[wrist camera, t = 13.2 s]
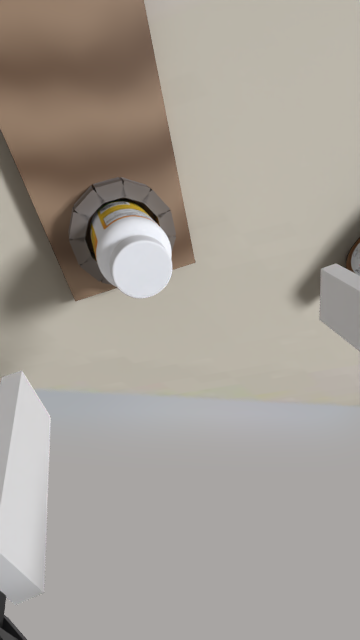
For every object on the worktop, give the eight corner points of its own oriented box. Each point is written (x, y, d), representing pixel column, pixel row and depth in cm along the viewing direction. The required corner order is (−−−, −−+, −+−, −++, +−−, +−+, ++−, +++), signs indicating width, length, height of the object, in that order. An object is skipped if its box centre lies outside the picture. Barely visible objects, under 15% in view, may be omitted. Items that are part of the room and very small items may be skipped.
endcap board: (-56, -9, 21) (-75, -30, 18) (129, -44, 23) (139, -68, 20) (74, 294, 33) (76, 311, 30) (190, 257, 35) (202, 269, 32)
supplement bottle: (131, 270, 32) (155, 320, 24) (77, 241, 29) (84, 287, 21) (162, 220, 31) (198, 255, 23) (109, 185, 28) (129, 212, 20)
